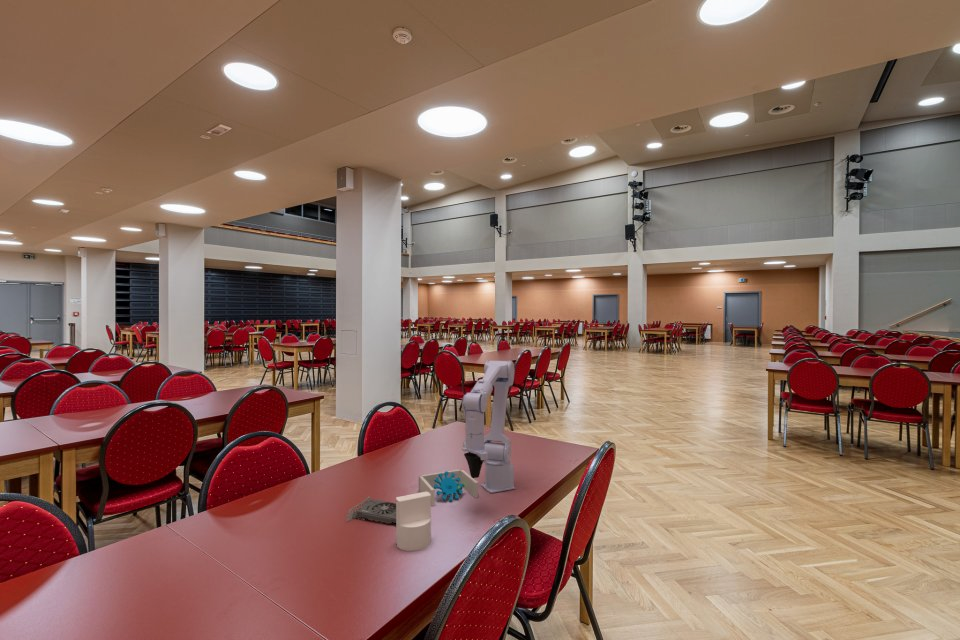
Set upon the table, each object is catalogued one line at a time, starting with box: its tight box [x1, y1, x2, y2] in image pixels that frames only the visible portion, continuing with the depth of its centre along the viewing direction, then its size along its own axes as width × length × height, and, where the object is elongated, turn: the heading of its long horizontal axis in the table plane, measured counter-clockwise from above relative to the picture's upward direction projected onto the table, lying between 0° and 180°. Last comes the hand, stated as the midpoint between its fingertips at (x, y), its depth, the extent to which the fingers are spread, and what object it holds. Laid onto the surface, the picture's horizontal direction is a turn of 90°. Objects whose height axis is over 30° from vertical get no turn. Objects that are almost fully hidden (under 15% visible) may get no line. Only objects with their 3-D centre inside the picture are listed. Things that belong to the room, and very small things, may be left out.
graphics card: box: [346, 496, 396, 524], centre depth 129 cm, size 17×4×12 cm
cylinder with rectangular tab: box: [395, 491, 432, 552], centre depth 114 cm, size 9×9×12 cm
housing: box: [418, 468, 479, 507], centre depth 146 cm, size 16×14×5 cm
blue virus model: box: [434, 471, 466, 502], centre depth 144 cm, size 11×6×10 cm
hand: (475, 477), depth 132 cm, fingers closed
